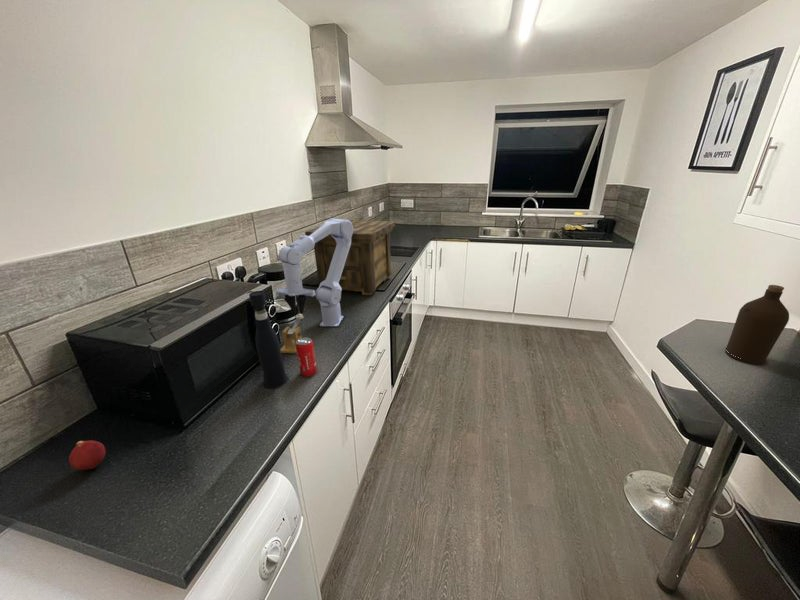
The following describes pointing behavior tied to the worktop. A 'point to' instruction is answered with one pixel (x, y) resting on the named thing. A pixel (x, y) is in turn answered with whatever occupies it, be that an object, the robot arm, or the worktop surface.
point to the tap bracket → (290, 340)
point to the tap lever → (295, 325)
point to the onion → (87, 455)
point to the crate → (359, 256)
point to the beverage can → (306, 356)
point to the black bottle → (267, 344)
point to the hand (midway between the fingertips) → (298, 312)
